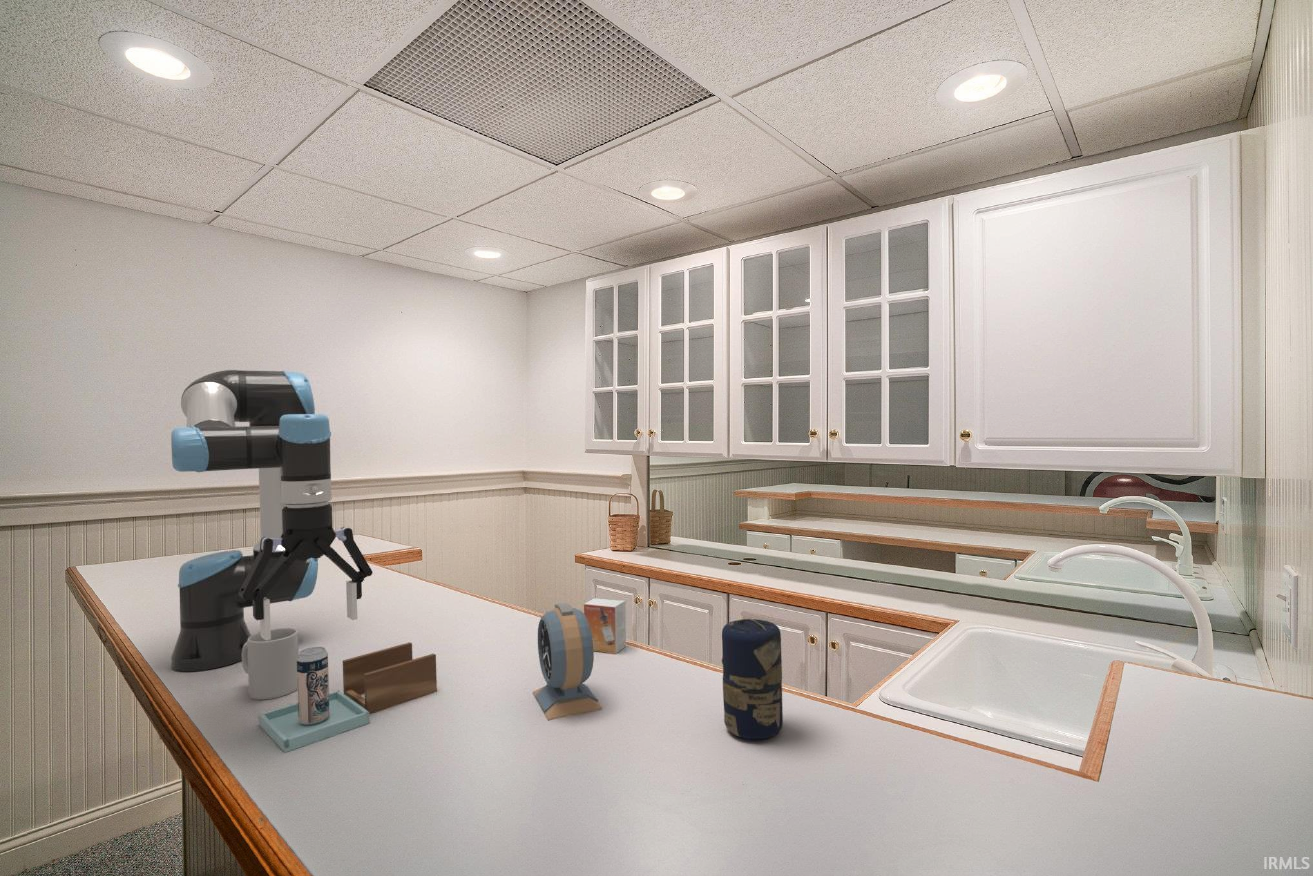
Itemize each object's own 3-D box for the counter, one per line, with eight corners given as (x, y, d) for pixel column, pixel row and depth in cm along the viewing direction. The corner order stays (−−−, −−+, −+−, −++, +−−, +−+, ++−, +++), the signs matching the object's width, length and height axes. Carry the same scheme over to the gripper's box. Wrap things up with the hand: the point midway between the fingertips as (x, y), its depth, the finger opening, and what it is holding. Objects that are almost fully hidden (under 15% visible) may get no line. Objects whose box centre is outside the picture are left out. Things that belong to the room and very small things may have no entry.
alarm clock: (531, 691, 119) (528, 598, 118) (581, 682, 123) (578, 592, 122) (549, 723, 106) (546, 618, 105) (604, 711, 109) (601, 610, 109)
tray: (259, 725, 107) (258, 714, 107) (339, 700, 117) (338, 690, 117) (284, 752, 98) (284, 741, 98) (369, 722, 107) (369, 712, 107)
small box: (583, 650, 140) (582, 603, 140) (595, 642, 145) (594, 597, 145) (616, 654, 137) (614, 606, 137) (626, 646, 142) (625, 600, 142)
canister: (746, 750, 95) (743, 632, 95) (712, 725, 103) (710, 616, 103) (795, 734, 99) (793, 622, 99) (759, 711, 108) (757, 607, 108)
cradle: (343, 697, 118) (342, 660, 118) (410, 676, 127) (409, 642, 127) (367, 714, 110) (366, 675, 110) (436, 691, 120) (435, 654, 120)
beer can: (316, 728, 105) (313, 656, 104) (291, 725, 106) (289, 655, 105) (336, 715, 109) (334, 646, 109) (312, 713, 110) (310, 645, 110)
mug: (310, 684, 125) (308, 629, 125) (272, 702, 117) (270, 643, 116) (263, 678, 128) (261, 625, 128) (224, 695, 120) (222, 639, 120)
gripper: (226, 515, 95) (230, 653, 96) (389, 498, 113) (392, 615, 114) (214, 510, 100) (218, 641, 101) (372, 495, 118) (375, 606, 119)
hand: (311, 627), depth 107 cm, fingers open, 13 cm apart
